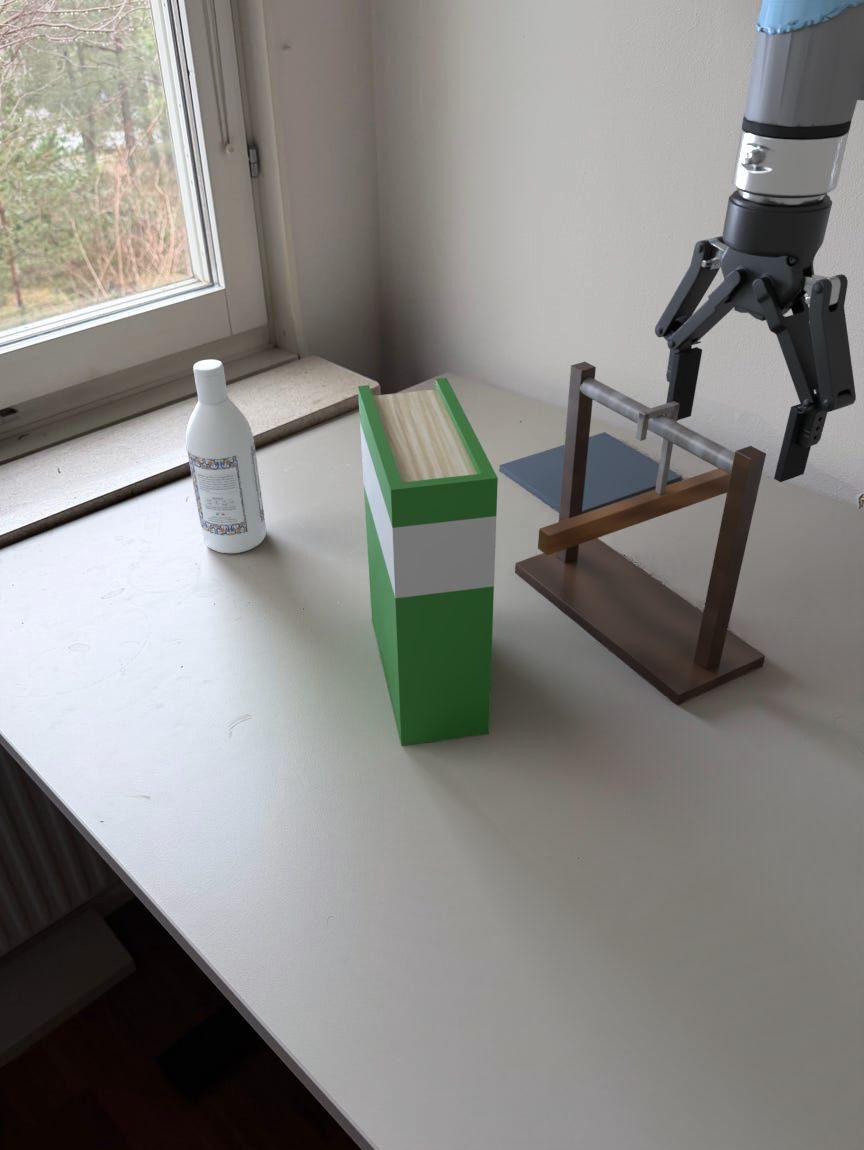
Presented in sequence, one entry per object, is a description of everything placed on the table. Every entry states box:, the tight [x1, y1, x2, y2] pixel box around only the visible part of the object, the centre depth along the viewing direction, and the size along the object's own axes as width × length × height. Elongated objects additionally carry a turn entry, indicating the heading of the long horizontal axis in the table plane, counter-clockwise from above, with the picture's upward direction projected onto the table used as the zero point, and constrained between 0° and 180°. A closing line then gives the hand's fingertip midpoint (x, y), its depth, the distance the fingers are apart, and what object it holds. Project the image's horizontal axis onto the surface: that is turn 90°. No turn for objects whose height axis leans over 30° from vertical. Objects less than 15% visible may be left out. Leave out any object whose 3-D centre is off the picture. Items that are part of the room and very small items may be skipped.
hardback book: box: [357, 377, 499, 747], centre depth 80 cm, size 18×7×24 cm, turn 9°
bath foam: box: [185, 359, 267, 554], centre depth 101 cm, size 7×7×20 cm
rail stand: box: [514, 361, 767, 706], centre depth 86 cm, size 10×24×22 cm, turn 29°
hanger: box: [537, 401, 730, 555], centre depth 83 cm, size 22×1×10 cm, turn 119°
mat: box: [498, 431, 683, 514], centre depth 115 cm, size 16×14×1 cm
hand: (729, 446), depth 87 cm, fingers open, 13 cm apart
